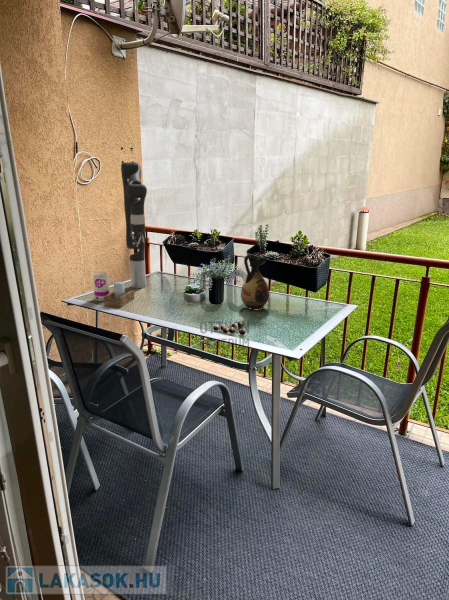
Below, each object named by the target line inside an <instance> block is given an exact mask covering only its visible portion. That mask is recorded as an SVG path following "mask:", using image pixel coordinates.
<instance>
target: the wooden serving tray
mask: <svg viewBox="0 0 449 600" xmlns="http://www.w3.org/2000/svg"><path fill="white" fill-rule="evenodd" d="M134 291H135V290H133V289H131V290H130V291H128V292H125V295H123V296H122V297H120V298H119V301H115V296H114V290H113V291H111V292H109V294H108V295H106V296H104V301H103V302H104V306H105V307H117V308H123V307H124V306H125V305H127V304H129V303H130V302H133V300H135V292H134Z"/></svg>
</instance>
